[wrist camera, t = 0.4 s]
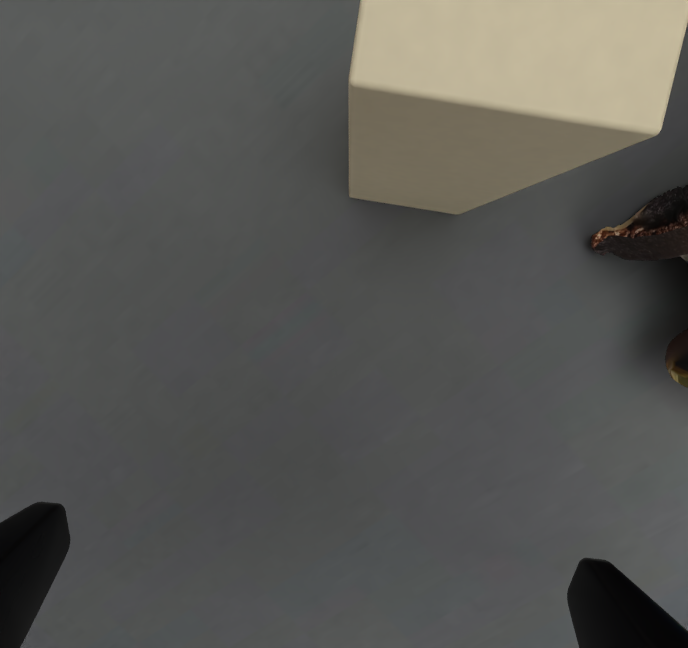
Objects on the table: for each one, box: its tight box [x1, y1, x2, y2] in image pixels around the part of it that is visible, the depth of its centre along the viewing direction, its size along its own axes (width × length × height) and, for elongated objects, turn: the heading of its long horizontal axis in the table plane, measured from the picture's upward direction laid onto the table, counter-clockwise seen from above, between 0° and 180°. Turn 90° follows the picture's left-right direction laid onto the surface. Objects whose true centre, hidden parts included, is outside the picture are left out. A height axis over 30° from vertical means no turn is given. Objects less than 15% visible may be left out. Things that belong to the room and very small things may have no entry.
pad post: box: [349, 0, 688, 215], centre depth 12 cm, size 4×4×12 cm
